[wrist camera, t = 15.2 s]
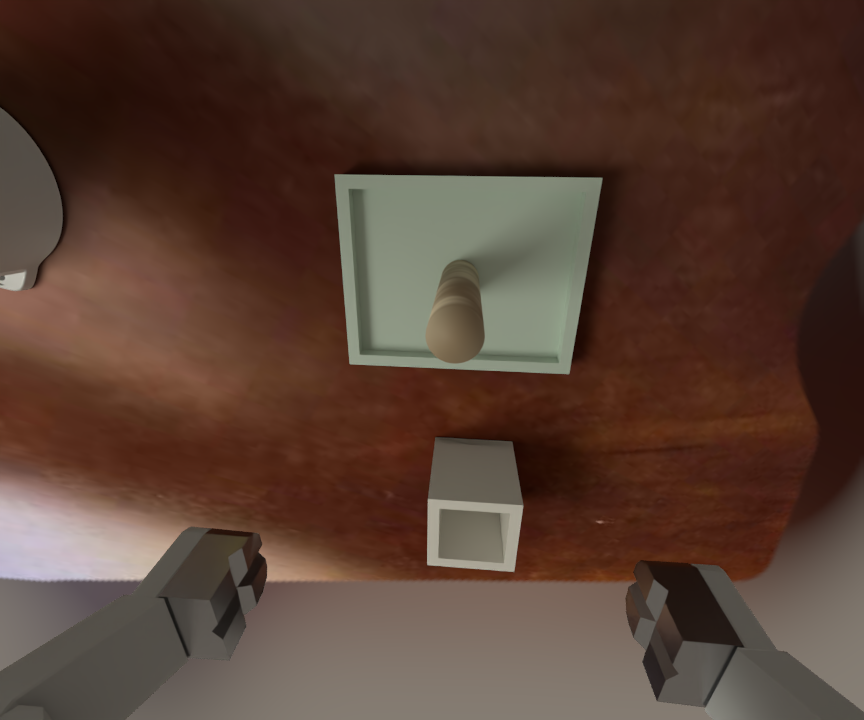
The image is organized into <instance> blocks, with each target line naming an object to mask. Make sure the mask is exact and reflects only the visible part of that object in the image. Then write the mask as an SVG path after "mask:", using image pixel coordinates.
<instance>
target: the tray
mask: <svg viewBox="0 0 864 720" xmlns="http://www.w3.org/2000/svg"><path fill="white" fill-rule="evenodd" d="M602 179H603V178H579V177H499V176H419V175H340V174H335V187H336V199H337V212H338V224H339V237H340V249H341V262H342V274H343V287H344V299H345V312H346V324H347V337H348V349H349V362H350V364H357V365H379V366H401V367H423V368H445V369H467V370H490V371H512V372H534V373H556V374H569V372H570V366H571V360H572V355H573V349H574V343H575V337H576V331H577V325H578V319H579V314H580V308H581V302H582V296H583V290H584V284H585V278H586V273H587V267H588V261H589V255H590V249H591V243H592V237H593V231H594V226H595V220H596V214H597V208H598V202H599V196H600V190H601V185H602ZM455 260H465V261H468V262H470V263H471V264H473V265H474V267H475V268H476V269H477V272H478V275H479V284H480V294H481V303H482V312H483V322H484V331H485V340H484V344H483V347H482V349H481V350H480V352H479V353H478V354H477V355H476V356H475V357H474V358H472V359H471V360H469V361H466V362H463V363H457V364H454V363H447V362H444V361H442V360H440V359H438V358H437V357H436V356H434V355H433V353H432V352H431V351H430V350H429V348H428V346H427V343H426V336H425V335H426V328H427V325H428V321H429V318H430V314H431V311H432V307H433V304H434V300H435V297H436V293H437V290H438V286H439V283H440V279H441V275H442V272H443V270H444V268H445V267H446V266H447V265H448V264H449V263H451V262H453V261H455Z"/></svg>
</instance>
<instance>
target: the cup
mask: <svg viewBox="0 0 864 720" xmlns="http://www.w3.org/2000/svg"><path fill="white" fill-rule="evenodd" d="M522 511H523V501H522V495H521V489H520V483H519V478H518V472H517V466H516V460H515V454H514V449H513V443H512V441H496V440H478V439H461V438H443V437H436V438H435V446H434V454H433V462H432V470H431V478H430V486H429V494H428V543H427V565H434V566H447V567H459V568H472V569H485V570H497V571H510V572H514V569H515V561H516V554H517V547H518V540H519V533H520V525H521V518H522Z"/></svg>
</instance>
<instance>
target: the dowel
mask: <svg viewBox="0 0 864 720" xmlns="http://www.w3.org/2000/svg"><path fill="white" fill-rule="evenodd" d="M425 336H426V343H427V346H428V348H429V350H430V351H431V352H432V353H433V355H434V356H436V357H437V358H438V359H440V360H442V361H444V362H447V363H454V364H457V363H463V362H466V361H469V360H471V359H472V358H474V357H475V356H476V355H477V354H478V353H479V352H480V350H481V349H482V347H483V344H484V340H485V331H484V322H483V312H482V303H481V294H480V284H479V275H478V272H477V269H476V268H475V267H474V265H473V264H471V263H470V262H468V261H465V260H455V261H453V262H451V263H449V264H448V265H447V266H446V267H445V268H444V270H443V272H442V275H441V279H440V283H439V286H438V290H437V293H436V297H435V300H434V304H433V307H432V311H431V314H430V318H429V321H428V325H427V328H426V335H425Z"/></svg>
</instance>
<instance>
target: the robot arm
mask: <svg viewBox="0 0 864 720" xmlns="http://www.w3.org/2000/svg"><path fill="white" fill-rule="evenodd" d="M62 223H63V211H62V203H61V197H60V193H59V190H58V186H57V183H56V181H55V178H54V175H53V173H52V171H51V169H50V167H49V165H48V163H47V161H46V159H45V157H44V156H43V154H42V153H41V151H40V149H39V148H38V147H37V145H36V144H35V142H34V141H33V140H32V138H31V137H30V136H29V135H28V133H27V132H26V131H25V130H24V129H23V128H22V127H21V126H20V125H19V123H18V122H16V121H15V120H14V119H13V118H12V117H11V116H10V115H9V114H8V113H7V112H5V111H4V110H3V109H2V108H0V288H3V289H8V290H12V291H21V290H28V289H31V288H32V287H33V285H34V283H35V280H36V275H37V270H38V266H39V265H40V263H41V262H42V261H43V260H44V259H45V258H46V257H47V256H48V255H49V254H50V253H51V252H52V251H53V249H54V248H55V246H56V244H57V243H58V240H59V238H60V234H61V230H62ZM261 546H262V542H261V538H260V535H259V534H258V533H252V532H242V531H232V530H222V529H213V528H212V529H211V528H200V527H189V528H188V529H186V530H184V531H183V532H182V533H181V534H180V535H179V537H178V538H177V539H176V540H175V541H174V543H173V544H172V545H171V546H170V548H169V549H168V550H167V551H166V553H165V554H164V555H163V556H162V557H161V559H160V560H159V561H158V562H157V564H156V565H155V566H154V567H153V569H152V570H151V571H150V572H149V573H148V575H147V576H146V577H145V578H144V580H143V581H142V582H141V583H140V585H139V586H138V587H137V588H136V590H135V591H134V592H133V594H131V595H123V596H121V597H120V598H118V599H116V600H115V601H113V602H111V603H110V604H108V605H107V606H105V607H104V608H102V609H100V610H99V611H97V612H95V613H94V614H92V615H90V616H89V617H88V618H86V619H84V620H82V621H81V622H79V623H77V624H76V625H74V626H73V627H71V628H69V629H68V630H66V631H65V632H63V633H61V634H60V635H58V636H57V637H55V638H53V639H52V640H50V641H48V642H47V643H45V644H44V645H42V646H40V647H39V648H37V649H36V650H34V651H32V652H31V653H29V654H27V655H26V656H24V657H23V658H21V659H19V660H18V661H16V662H14V663H13V664H12V665H10V666H8V667H6V668H5V669H3V670H2V671H0V720H125V719H126V718H127V717H129V716H130V715H131V714H132V713H133V712H134V711H135V710H136V709H137V708H138V707H139V706H140V705H141V704H142V703H143V702H144V701H146V700H147V699H148V698H149V697H150V696H151V695H152V694H153V693H154V692H155V691H156V690H157V689H158V688H160V686H162V685H163V684H164V683H165V682H166V681H167V680H168V679H169V678H170V677H171V676H172V675H174V673H176V672H177V671H178V670H179V669H180V668H181V667H182V666H183V665H184V664H185V663H186V662H187V661H188V658H198V659H215V660H230V658H231V656H232V654H233V652H234V650H235V648H236V646H237V644H238V642H239V640H240V638H241V636H242V634H243V632H244V630H245V628H246V622H245V616H244V615H245V614H247V613H248V612H249V611H250V610H251V609H253V608H254V607H255V606H256V605H257V604H258V602H259V599H260V597H261V595H262V593H263V590H264V586H265V582H266V579H267V564H266V559H265V558H264V557H263V556H262V555H261V554H260V553H259V552H258V551H259V549H260V548H261ZM633 573H634V575H635V578H636V580H637V582H635V583H634V584H632V585H631V586H629V587H628V591H627V595H626V614H627V619H628V623H629V626H630V629H631V632H632V635H633V638H634V639H635V640H636V641H637V642H638V643H639V644H640V645H641V646H642V647H643V648H644V649H645V650H646V652H645V655H644V658H643V661H642V662H643V665H644V667H645V670H646V673H647V676H648V679H649V681H650V684H651V687H652V689H653V692H654V695H655V697H656V700H657V701H659V702H667V703H675V704H683V705H691V706H699V707H706V708H705V711H706V712H707V714H708V715H709V716H710V717H711V718H712V719H713V720H864V712H863V711H862V710H860V709H859V708H858V707H856V706H855V705H854V704H853V703H851V702H850V701H849V700H848V699H846V698H845V697H844V696H842V695H841V694H840V693H839V692H837V691H836V690H835V689H834V688H832V687H831V686H830V685H828V684H827V683H826V682H825V681H823V680H822V679H821V678H819V677H818V676H817V675H815V674H814V673H813V672H812V671H811V670H809V669H808V668H807V667H805V666H804V665H803V664H802V663H800V662H799V661H798V660H796V659H795V658H794V657H793V656H791V655H790V654H789V653H787V652H784V651H778V650H777V649H776V647H775V646H774V644H773V643H772V641H771V640H770V638H769V637H768V636H767V634H766V633H765V631H764V629H763V628H762V627H761V625H760V623H759V622H758V621H757V619H756V618H755V616H754V614H753V613H752V611H751V610H750V609H749V607H748V606H747V604H746V603H745V602H744V600H743V598H742V597H741V595H740V594H739V592H738V591H737V589H736V588H735V586H734V585H733V583H732V582H731V580H730V579H729V577H728V576H727V574H726V573H725V571H724V570H723V569H721V568H720V567H719V566H715V565H701V564H688V563H678V562H661V561H644V560H640V561H639V562H638V563H637V564H636V566H635V569H634V572H633Z"/></svg>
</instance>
